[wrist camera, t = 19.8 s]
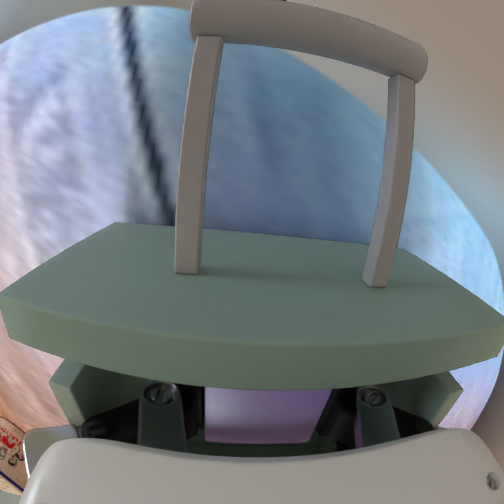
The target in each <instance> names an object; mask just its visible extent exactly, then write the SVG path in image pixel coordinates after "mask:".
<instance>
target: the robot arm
mask: <svg viewBox="0 0 504 504" xmlns="http://www.w3.org/2000/svg"><path fill="white" fill-rule="evenodd" d="M203 424H204V387H201V386H193V385H184V384H177V383H170V382H164V381H157V380H151V381H148V382H147V383H145V384H144V385H143V386H142V387H141V389H140V392H139V399H136V400H134V401H131V402H129V403H126V404H124V405H121V406H119V407H116V408H113V409H111V410H108V411H106V412H103V413H100V414H97V415H95V416H92V417H90V418H88V419H87V420H86V421H84V422H83V424H82V426H76V425H75V424H70V425H63V426H56V427H48V428H39V429H32V430H29V431H27V432H26V433H25V434H24V436H23V438H22V448H23V455H24V462H25V468H26V473H27V478H28V482H27V484H26V487H25V489H24V491H23V494H22V497H21V500H20V503H19V504H504V474H503V472H502V470H501V468H500V466H499V465H498V463H497V461H496V460H495V458H494V456H493V455H492V454H491V452H490V450H489V449H488V448H487V446H486V445H485V444H484V442H483V441H482V440H481V439H480V438H479V437H478V436H477V435H476V434H475V433H474V432H472V431H470V430H467V429H461V428H443V427H438V426H436V427H435V428H433V426H432V424H431V423H429V422H428V421H427V420H425V419H423V418H420V417H418V416H416V415H413V414H411V413H408V412H406V411H403V410H401V409H399V408H396V407H394V406H392V403H391V400H390V396H389V394H388V392H387V391H386V390H385V389H383V388H382V387H380V386H378V385H369V386H360V387H351V388H339V389H332V391H331V393H330V396H329V398H328V400H327V403H326V405H325V407H324V410H323V412H322V414H321V416H320V418H319V420H318V423H317V425H316V427H315V429H314V430H317V433H318V437H321V436H328V437H329V438H331V453H324V454H315V455H305V456H291V457H224V456H211V455H200V454H191V453H188V448H187V440H188V439H190V438H192V437H194V436H195V435H196V436H197V431H198V429H203Z"/></svg>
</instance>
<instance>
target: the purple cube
mask: <svg viewBox="0 0 504 504" xmlns="http://www.w3.org/2000/svg"><path fill="white" fill-rule="evenodd" d="M331 391H332V389H324V390H300V391H263V390H238V389H223V388H212V387H204V419H205V441H210V442H223V443H243V444H281V443H300V442H308V441H309V439H310V437H311V435H312V433H313V431H314V429H315V427H316V425H317V423H318V420H319V418H320V416H321V414H322V412H323V410H324V407H325V405H326V403H327V400H328V398H329V396H330V393H331Z"/></svg>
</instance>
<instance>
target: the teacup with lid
mask: <svg viewBox="0 0 504 504" xmlns="http://www.w3.org/2000/svg"><path fill="white" fill-rule="evenodd" d="M23 436H24V433H23V432H22V431H21V430H20V429H18V428H17V427H16V426H14V425H13V424H12V423H10V422H9V421H7V420H5V419H4V418H1V417H0V492H1V489H2V490H3V491H5V492H8V493H14V494H18V495H20V496H22V494H23V491H24V489H25V487H26V484H27V482H28V478H27V473H26V468H25V462H24V455H23V448H22V438H23Z"/></svg>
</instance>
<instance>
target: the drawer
mask: <svg viewBox="0 0 504 504" xmlns="http://www.w3.org/2000/svg"><path fill="white" fill-rule="evenodd" d="M189 32H190V37H191V40H192V41H193V42H196V44H195V49H194V54H193V60H192V65H191V71H190V77H189V83H188V90H187V97H186V104H185V112H184V120H183V128H182V137H181V147H180V157H179V169H178V183H177V198H176V219H175V226H164V225H150V224H136V223H121V222H115V223H113V224H111V225H109V226H107V227H105V228H103V229H101V230H100V231H98V232H96V233H94V234H92V235H90V236H89V237H87V238H85V239H83V240H82V241H80V242H78V243H76V244H75V245H73V246H71V247H69V248H68V249H66V250H64V251H63V252H61V253H59V254H58V255H56V256H54V257H53V258H51V259H49V260H48V261H46V262H45V263H43V264H41V265H40V266H38V267H37V268H35V269H34V270H32V271H31V272H29V273H27V274H26V275H24V276H23V277H21V278H20V279H19V280H17V281H16V282H14V283H13V284H11V285H10V286H8V287H7V288H6V289H4V290H3V291H1V292H0V311H1V314H2V317H3V320H4V323H5V326H6V329H7V332H8V335H9V337H10V338H11V339H13V340H16V341H18V342H21V343H23V344H26V345H28V346H31V347H33V348H36V349H39V350H41V351H44V352H47V353H50V354H53V355H56V356H59V357H62V358H65V359H64V361H63V362H62V363H61V365H60V366H59V367H58V369H57V370H56V372H55V373H54V374H53V376H52V377H51V379H50V380H49V385H50V387H51V389H52V391H53V393H54V395H55V397H56V399H57V401H58V403H59V405H60V407H61V409H62V410H63V412H64V414H65V416H66V418H67V419H68V421H69V423H70V424H75V425H76V426H82V424H83V422H84V421H86V420H87V419H88V418H90V417H92V416H95V415H97V414H100V413H103V412H106V411H108V410H111V409H113V408H116V407H119V406H121V405H124V404H126V403H129V402H131V401H134V400H136V399H139V392H140V389H141V387H142V386H143V385H144V384H145V383H147V382H148V381H151V380H157V381H164V382H170V383H177V384H184V385H193V386H201V387H212V388H223V389H238V390H263V391H300V390H324V389H339V388H351V387H360V386H369V385H378V386H380V387H382V388H383V389H385V390H386V391H387V392H388V394H389V396H390V400H391V403H392V406H394V407H396V408H399V409H401V410H403V411H406V412H408V413H411V414H413V415H416V416H418V417H420V418H423V419H425V420H427V421H428V422H429V423H431V424H432V426H433V428H435V427H436V426H438V425H439V424H440V422H441V421H442V420H443V419H444V417H445V416H446V415H447V413H448V412H449V411H450V409H451V408H452V406H453V405H454V404H455V402H456V401H457V399H458V398H459V396H460V395H461V393H462V392H463V388H462V387H461V386H460V385H459V383H458V382H457V381H456V380H455V378H454V377H453V376H452V375H451V374H450V372H449V371H450V370H454V369H458V368H462V367H465V366H469V365H472V364H475V363H479V362H482V361H485V360H488V359H491V358H494V357H497V356H498V354H499V353H500V351H501V349H502V347H503V345H504V316H503V315H501V314H500V313H499V312H497V311H496V310H495V309H494V308H492V307H491V306H489V305H488V304H487V303H485V302H484V301H483V300H481V299H480V298H479V297H477V296H476V295H474V294H473V293H471V292H470V291H469V290H467V289H466V288H464V287H463V286H461V285H460V284H458V283H457V282H456V281H454V280H453V279H451V278H450V277H448V276H447V275H445V274H443V273H442V272H440V271H439V270H437V269H436V268H434V267H433V266H431V265H429V264H428V263H426V262H425V261H423V260H422V259H420V258H418V257H417V256H415V255H413V254H412V253H410V252H408V251H407V250H405V249H399V248H397V244H398V240H399V235H400V231H401V226H402V221H403V215H404V210H405V204H406V198H407V192H408V185H409V177H410V169H411V160H412V150H413V137H414V120H415V84H416V83H418V82H419V81H420V80H421V79H422V78H423V76H424V74H425V72H426V69H427V63H428V58H427V53H426V51H425V49H424V48H423V47H422V46H421V45H420V44H418V43H416V42H414V41H412V40H409V39H407V38H405V37H403V36H401V35H398V34H396V33H394V32H391V31H389V30H386V29H384V28H381V27H379V26H376V25H374V24H371V23H368V22H365V21H362V20H360V19H356V18H353V17H350V16H347V15H344V14H340V13H337V12H333V11H329V10H325V9H320V8H317V7H313V6H308V5H303V4H297V3H292V2H286V1H280V0H194V1H193V3H192V6H191V10H190V17H189ZM223 43H234V44H247V45H258V46H266V47H274V48H281V49H287V50H293V51H299V52H304V53H309V54H314V55H318V56H323V57H327V58H331V59H335V60H339V61H342V62H346V63H350V64H353V65H356V66H360V67H363V68H366V69H369V70H372V71H375V72H378V73H381V74H383V75H386V76H389V77H391V78H389V80H388V107H387V125H386V138H385V149H384V159H383V167H382V175H381V183H380V190H379V196H378V202H377V208H376V214H375V220H374V225H373V230H372V235H371V240H370V245H365V244H357V243H348V242H339V241H329V240H320V239H310V238H300V237H290V236H280V235H270V234H259V233H248V232H237V231H226V230H214V229H203V222H204V207H205V194H206V182H207V170H208V160H209V150H210V140H211V131H212V122H213V114H214V106H215V98H216V91H217V83H218V76H219V70H220V63H221V57H222V51H223ZM187 448H188V453H191V454H200V455H211V456H224V457H291V456H305V455H315V454H324V453H331V438H329V437H328V436H321V437H318V433H317V430H314V431H313V433H312V435H311V437H310V439H309V441H308V442H300V443H281V444H243V443H223V442H210V441H205V419H204V424H203V429H198V431H197V436H196V435H195V436H194V437H192V438H190V439H188V440H187Z"/></svg>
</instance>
